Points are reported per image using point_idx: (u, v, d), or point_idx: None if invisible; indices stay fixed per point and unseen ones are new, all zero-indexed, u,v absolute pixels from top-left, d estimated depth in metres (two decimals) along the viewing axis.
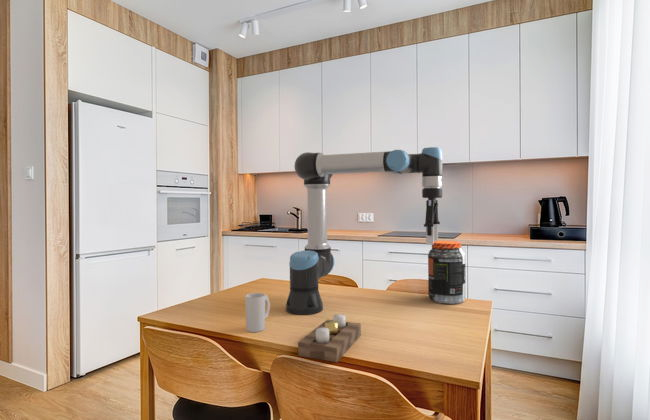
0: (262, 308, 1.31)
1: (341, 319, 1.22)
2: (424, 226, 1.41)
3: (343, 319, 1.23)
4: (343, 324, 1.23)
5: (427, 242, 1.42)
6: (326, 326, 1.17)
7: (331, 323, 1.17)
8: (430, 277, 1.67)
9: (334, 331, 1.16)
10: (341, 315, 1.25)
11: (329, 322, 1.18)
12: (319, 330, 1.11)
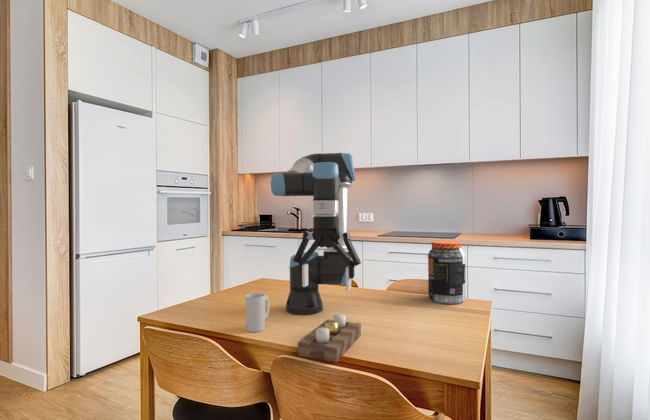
0: (262, 308, 1.31)
1: (341, 319, 1.22)
2: None
3: (343, 319, 1.23)
4: (343, 324, 1.23)
5: None
6: (326, 326, 1.17)
7: (331, 323, 1.17)
8: (430, 277, 1.67)
9: (334, 331, 1.16)
10: (341, 315, 1.25)
11: (329, 322, 1.18)
12: (319, 330, 1.11)
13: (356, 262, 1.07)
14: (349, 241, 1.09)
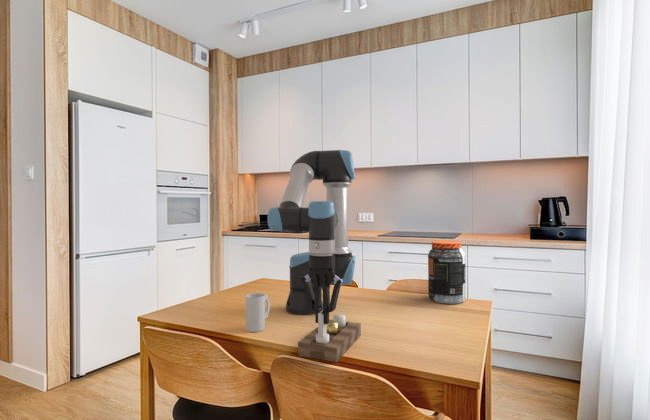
0: (262, 308, 1.31)
1: (341, 319, 1.22)
2: (320, 310, 1.13)
3: (343, 319, 1.23)
4: (343, 324, 1.23)
5: None
6: None
7: (331, 323, 1.17)
8: (430, 277, 1.67)
9: (334, 331, 1.16)
10: (341, 315, 1.25)
11: (329, 322, 1.18)
12: None
13: (331, 309, 1.09)
14: (338, 288, 1.09)
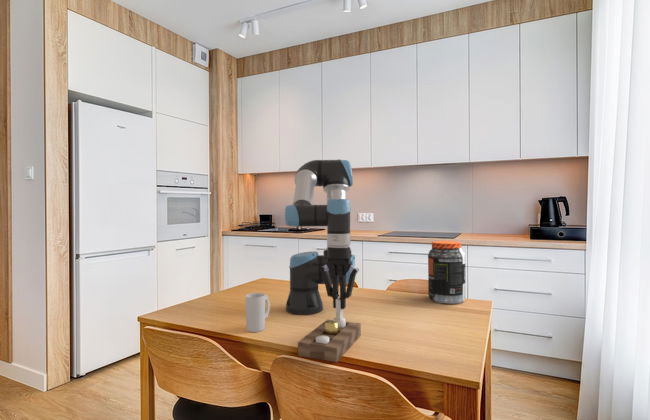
0: (262, 308, 1.31)
1: (341, 322, 1.22)
2: (337, 296, 1.26)
3: (343, 322, 1.23)
4: (343, 327, 1.23)
5: None
6: (326, 326, 1.17)
7: (331, 323, 1.17)
8: (430, 277, 1.67)
9: (334, 331, 1.16)
10: None
11: (329, 322, 1.18)
12: (319, 338, 1.11)
13: (347, 295, 1.21)
14: (354, 277, 1.22)
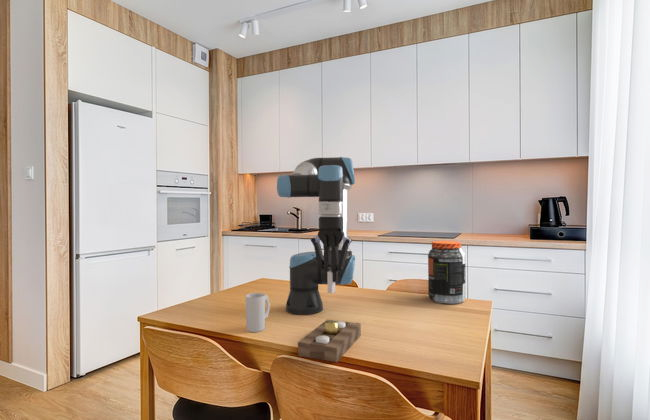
0: (262, 308, 1.31)
1: (341, 326, 1.22)
2: None
3: (343, 326, 1.23)
4: None
5: None
6: (326, 326, 1.17)
7: (331, 323, 1.17)
8: (430, 277, 1.67)
9: (334, 331, 1.16)
10: (341, 322, 1.25)
11: (329, 322, 1.18)
12: (319, 338, 1.11)
13: (339, 267, 1.15)
14: (346, 247, 1.15)
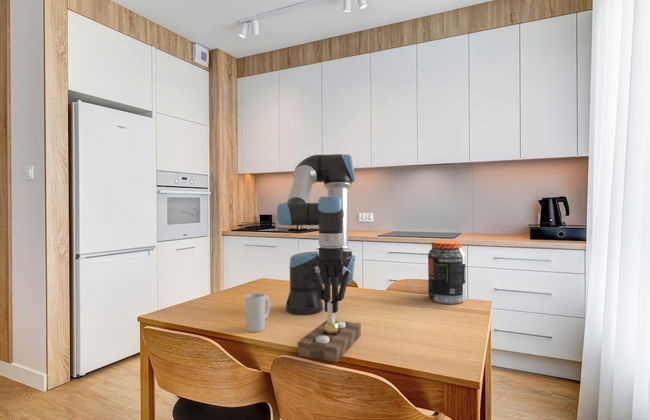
0: (262, 308, 1.31)
1: (341, 326, 1.22)
2: (329, 299, 1.20)
3: (343, 326, 1.23)
4: None
5: None
6: (326, 327, 1.17)
7: (331, 324, 1.17)
8: (430, 277, 1.67)
9: (334, 332, 1.16)
10: (341, 322, 1.25)
11: None
12: (319, 338, 1.11)
13: (339, 298, 1.15)
14: (346, 279, 1.15)
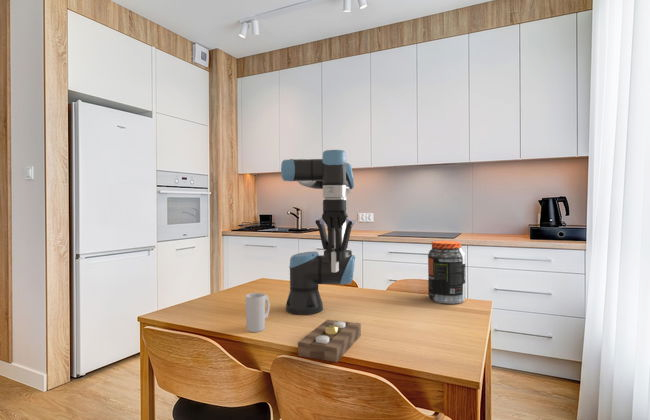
0: (262, 308, 1.31)
1: (341, 326, 1.22)
2: None
3: (343, 326, 1.23)
4: None
5: None
6: (326, 330, 1.17)
7: (331, 327, 1.17)
8: (430, 277, 1.67)
9: None
10: (341, 322, 1.25)
11: (329, 326, 1.18)
12: (319, 338, 1.11)
13: (343, 248, 1.20)
14: (349, 229, 1.20)
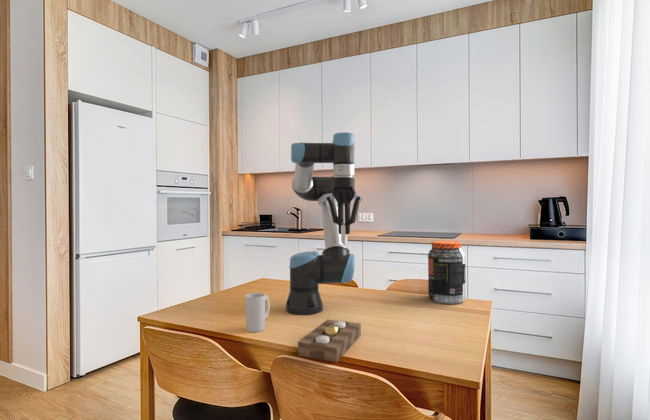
0: (262, 308, 1.31)
1: (341, 326, 1.22)
2: (342, 224, 1.37)
3: (343, 326, 1.23)
4: None
5: None
6: (326, 330, 1.17)
7: (331, 327, 1.17)
8: (430, 277, 1.67)
9: None
10: (341, 322, 1.25)
11: (329, 326, 1.18)
12: (319, 338, 1.11)
13: (351, 221, 1.33)
14: (357, 204, 1.33)
